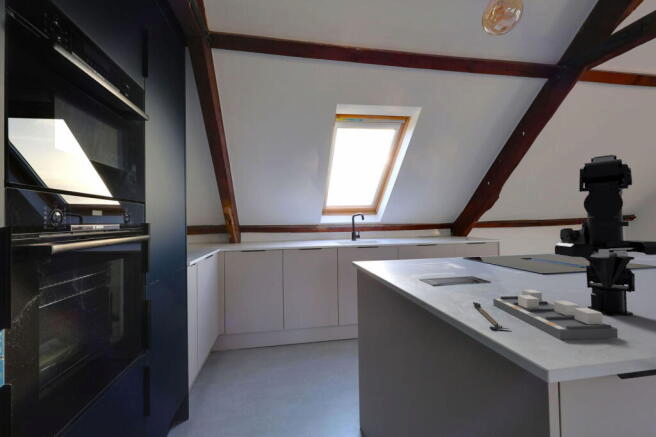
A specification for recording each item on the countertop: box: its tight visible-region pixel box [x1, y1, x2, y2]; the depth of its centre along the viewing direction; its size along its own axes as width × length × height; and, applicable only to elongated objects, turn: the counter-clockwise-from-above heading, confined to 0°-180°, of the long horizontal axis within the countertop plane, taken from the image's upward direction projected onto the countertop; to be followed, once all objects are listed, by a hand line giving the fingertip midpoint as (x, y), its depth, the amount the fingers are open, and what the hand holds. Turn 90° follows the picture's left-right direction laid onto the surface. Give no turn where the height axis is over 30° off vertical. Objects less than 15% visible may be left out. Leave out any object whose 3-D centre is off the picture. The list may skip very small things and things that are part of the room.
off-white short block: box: [574, 307, 603, 324], centre depth 65 cm, size 3×4×2 cm
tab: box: [517, 294, 539, 308], centre depth 77 cm, size 3×4×2 cm
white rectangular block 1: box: [521, 289, 543, 301], centre depth 83 cm, size 3×4×2 cm
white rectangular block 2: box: [553, 300, 580, 315], centre depth 71 cm, size 3×4×2 cm
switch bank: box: [492, 295, 619, 341], centre depth 74 cm, size 12×25×3 cm, turn 0°
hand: (607, 287), depth 65 cm, fingers closed
